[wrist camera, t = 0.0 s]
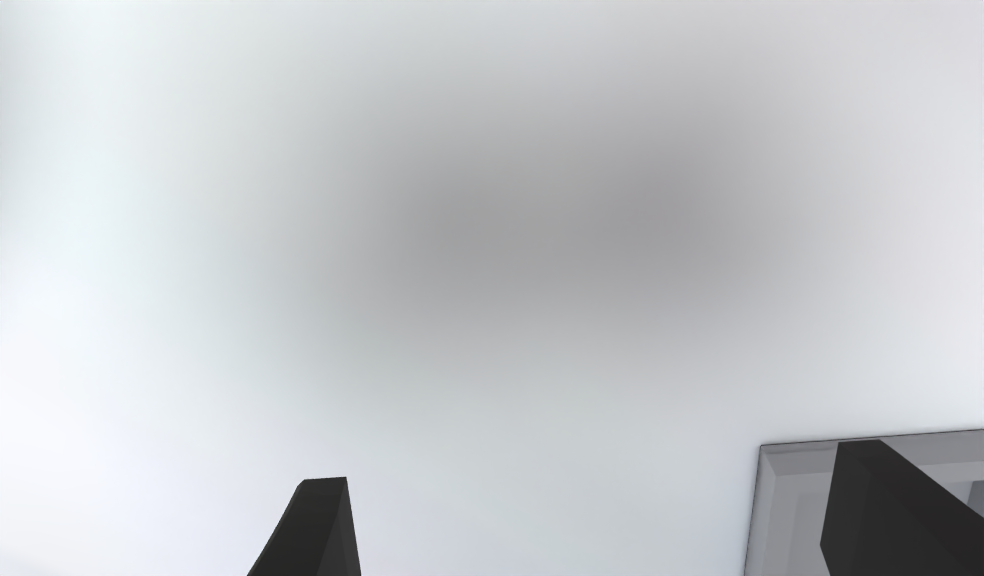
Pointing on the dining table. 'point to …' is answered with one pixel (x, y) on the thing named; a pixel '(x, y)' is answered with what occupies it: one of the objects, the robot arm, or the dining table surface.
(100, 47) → the dining table surface
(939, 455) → the grey dish
